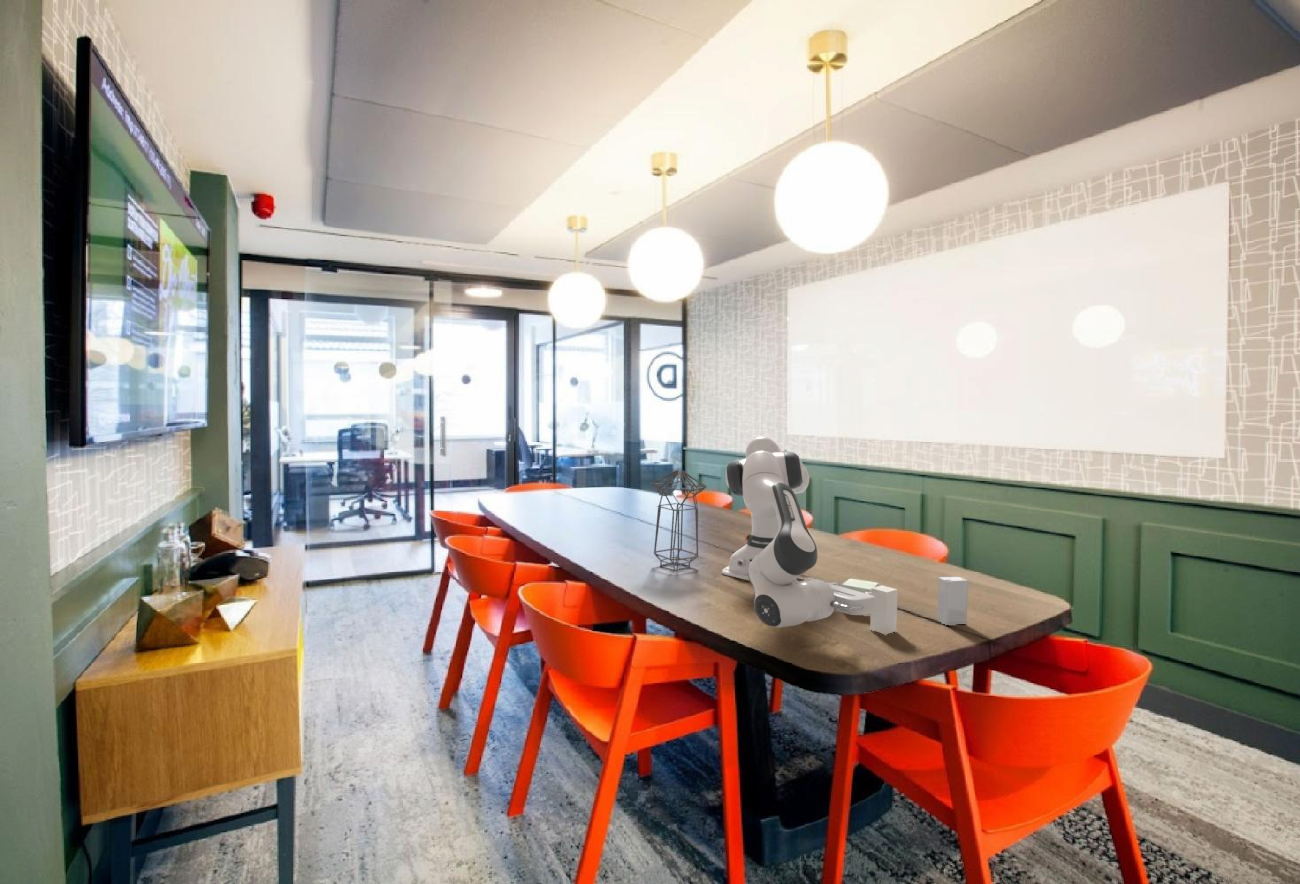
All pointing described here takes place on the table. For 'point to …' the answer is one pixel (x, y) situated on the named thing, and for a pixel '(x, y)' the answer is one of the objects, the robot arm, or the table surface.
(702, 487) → the geometric lantern
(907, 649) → the table surface
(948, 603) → the skincare box
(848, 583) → the sage block
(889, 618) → the tall grey block
